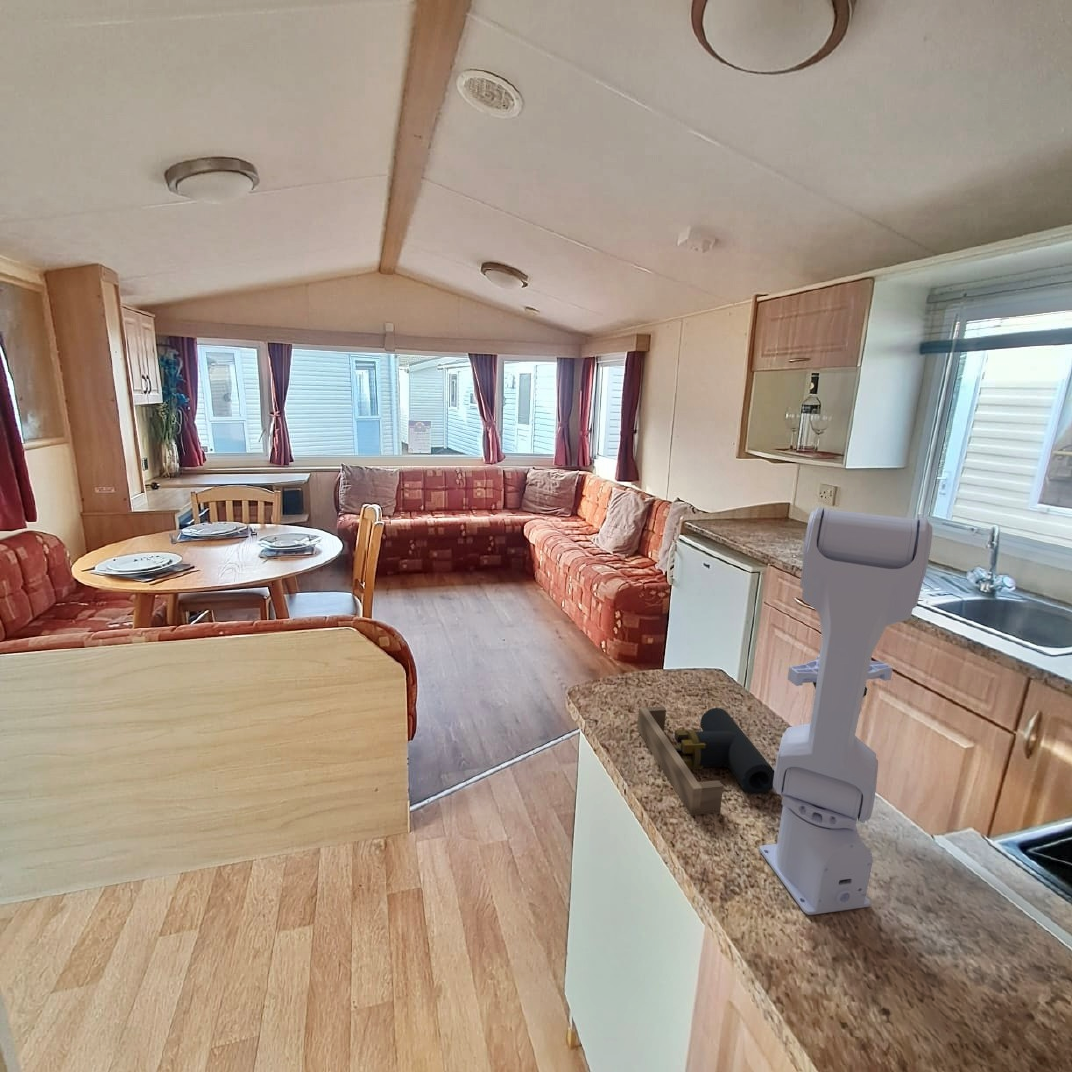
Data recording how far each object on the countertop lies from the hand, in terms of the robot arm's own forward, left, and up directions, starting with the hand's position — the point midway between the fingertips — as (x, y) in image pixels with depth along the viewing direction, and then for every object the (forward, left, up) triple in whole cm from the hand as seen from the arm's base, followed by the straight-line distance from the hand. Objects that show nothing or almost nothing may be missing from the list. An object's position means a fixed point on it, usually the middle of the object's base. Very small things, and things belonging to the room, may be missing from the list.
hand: (831, 727), depth 80 cm
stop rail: (+7, +19, -9) cm, 23 cm away
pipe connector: (+7, +13, -10) cm, 18 cm away
